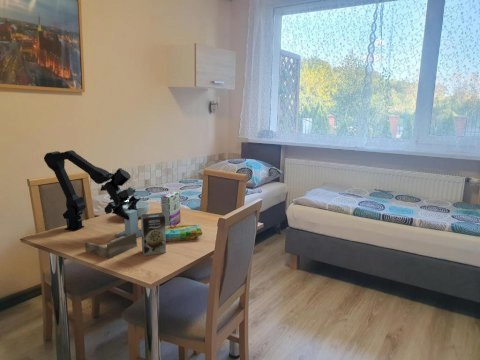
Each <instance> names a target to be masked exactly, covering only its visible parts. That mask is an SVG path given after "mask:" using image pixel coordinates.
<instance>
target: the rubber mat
mask: <svg viewBox="0 0 480 360" xmlns="http://www.w3.org/2000/svg"><path fill="white" fill-rule="evenodd" d="M122 236H127V235H126V234H125V230H124V231H121V232H119V233H116V234H114V237H117V238H120V237H122ZM136 237H137V239H138V238H142V229H138V233H136Z"/></svg>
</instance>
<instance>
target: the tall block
mask: <svg viewBox="0 0 480 360" xmlns="http://www.w3.org/2000/svg"><path fill="white" fill-rule="evenodd" d="M126 214H127V215H128V217H129V220H126V219H124V218H123V219H124V231H125V234H126V235H130V234H132V233H138V230H139V220H138V219H139V218H138V214H137V210H129V211H126Z"/></svg>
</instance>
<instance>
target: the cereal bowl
mask: <svg viewBox="0 0 480 360" xmlns="http://www.w3.org/2000/svg"><path fill="white" fill-rule="evenodd" d="M128 207H129V206H128V205H124V206H123V209H124V211H125V212H126V211H129V209H128ZM136 208H137V212H138V219H139V218H141V214H148V213H149V211H150V203H149V202H148V201H144V200H139V201H138V203H137V204H136Z"/></svg>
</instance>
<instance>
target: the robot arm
mask: <svg viewBox="0 0 480 360" xmlns="http://www.w3.org/2000/svg"><path fill="white" fill-rule="evenodd" d="M43 160H44V161H43V162H44V163H45V164H46V165H47V167H48V168H49V169H51V170H52V172H53V173H54V175H55V177H56V179H57V181H58V183H59V185H60V188H61V190H62V192H63V195H64V197H65V199H66V201H65V202H66V203H65V206H66V207H65V208H66V211H65V212H64V213H63V214H62V217H63V219H66V220H65V221H66V227H65V228H64V230H66V231H67V230H68V231H75V232H76V231H77V230H80V229H82V228H84V227H85V225H83V220H82V215H83V214H84V211H85V210H86V204H87V203H86V202H85V200H84V197H83V196H78V194H77V193H76V191H75V188H74V186H73V183H72V182H71V180H70V177H69V176H68V175H69V174H68V173H67V171H66V168H65V163H66V161H65V160H68V161H70V162H71V163H73V164H74V165H75V166H76V167H77V168H79V169H81V170H82V171H83V172H85V173H87V175H89V178H90V179H91V180H92V181H93V182H94V183H96V184H97V185H101V187H100V191H101V192H103V191H106V193H107V194H108V195H109V201H110V202H108V203H107V205H106V206H105V207H104V212H105V214H106V215H109V214H112V215H113V214H114V215H117V216H119V217H121V218H122V219H126V220H129V217H128V215H127V214H126V212H125V211H124V209H123V206H124V205H128V206H129V207H128V209H129V210H137V208H136V204H137V203H138V201H141V199H142V197H141V195H140V194H135V193H136V189H135V188H134V187H133V186H128V187H127V188H126V189H121V188H120V187H123V186H124V185H125V184H126V183H127V182H128V181H129V180H130V179H131V175H130V173H129V172H128V171H127V170H124V169H123V168H121V167H120V168H118V169H117V170H116V171H115V172H114V173H112V172H109V171H108V170H106V169H103V168H102V167H99V166H95V165H94V164H92V163H91V162H89V161H88V160H86V159H85V158H84V157H82V156H80V154H78V153H77V152H76V151H74V150H66V151H63V152H61V151H59V150H56V151H51V152H47V153H45V155H44V156H43ZM103 183H105V184H103ZM119 186H120V187H119ZM137 214H138V212H137Z"/></svg>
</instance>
